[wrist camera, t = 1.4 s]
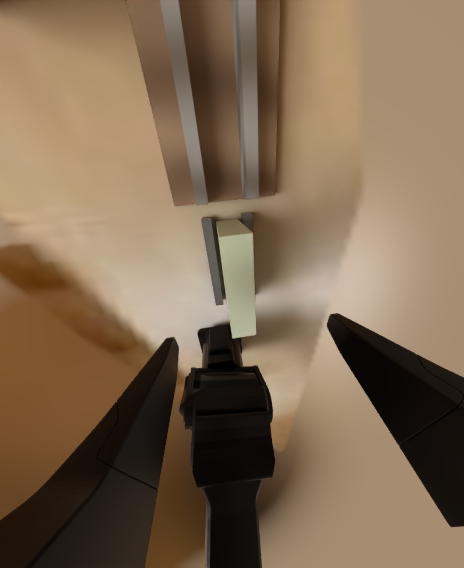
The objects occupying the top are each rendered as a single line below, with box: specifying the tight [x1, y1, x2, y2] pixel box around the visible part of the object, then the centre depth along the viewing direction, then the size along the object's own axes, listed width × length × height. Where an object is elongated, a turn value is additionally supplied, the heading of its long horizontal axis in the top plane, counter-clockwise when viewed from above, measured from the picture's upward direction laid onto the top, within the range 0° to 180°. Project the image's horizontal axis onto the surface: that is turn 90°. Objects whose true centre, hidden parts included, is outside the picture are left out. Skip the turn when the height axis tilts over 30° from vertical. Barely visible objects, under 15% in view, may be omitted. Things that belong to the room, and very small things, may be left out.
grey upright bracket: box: [201, 213, 255, 305], centre depth 21 cm, size 11×5×1 cm, turn 6°
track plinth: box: [126, 0, 280, 206], centre depth 12 cm, size 15×10×4 cm, turn 6°
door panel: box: [216, 219, 256, 339], centre depth 18 cm, size 10×2×8 cm, turn 5°
